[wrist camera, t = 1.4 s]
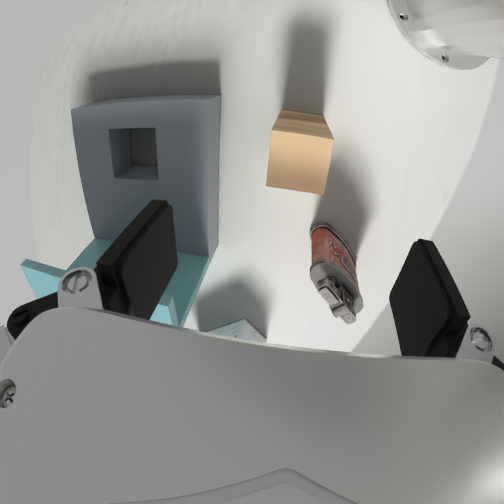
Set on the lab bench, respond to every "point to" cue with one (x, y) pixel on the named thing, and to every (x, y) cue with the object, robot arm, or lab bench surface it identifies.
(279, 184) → the peg
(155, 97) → the socket block
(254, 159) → the lab bench surface
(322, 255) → the lighter
